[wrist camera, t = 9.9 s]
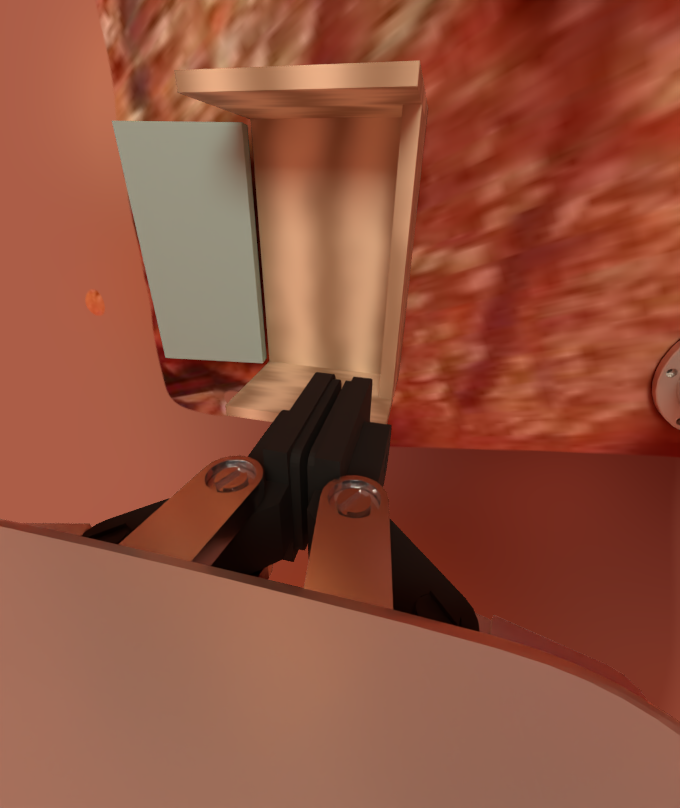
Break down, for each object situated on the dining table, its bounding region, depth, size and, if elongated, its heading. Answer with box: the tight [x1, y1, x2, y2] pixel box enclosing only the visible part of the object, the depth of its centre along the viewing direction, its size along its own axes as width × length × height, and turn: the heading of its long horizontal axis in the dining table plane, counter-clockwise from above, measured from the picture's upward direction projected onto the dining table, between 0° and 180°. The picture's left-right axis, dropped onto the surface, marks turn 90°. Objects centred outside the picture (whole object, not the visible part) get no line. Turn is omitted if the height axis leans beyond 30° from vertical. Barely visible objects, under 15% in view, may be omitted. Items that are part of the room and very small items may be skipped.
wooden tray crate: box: [174, 61, 428, 424], centre depth 32 cm, size 14×23×13 cm, turn 179°
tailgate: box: [112, 121, 267, 363], centre depth 36 cm, size 2×21×11 cm
